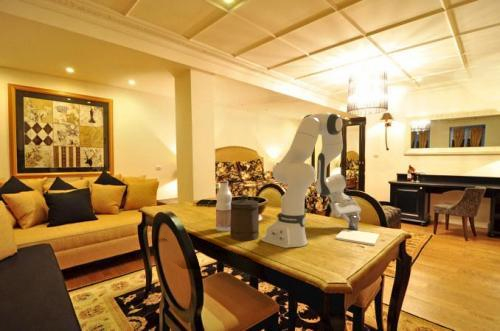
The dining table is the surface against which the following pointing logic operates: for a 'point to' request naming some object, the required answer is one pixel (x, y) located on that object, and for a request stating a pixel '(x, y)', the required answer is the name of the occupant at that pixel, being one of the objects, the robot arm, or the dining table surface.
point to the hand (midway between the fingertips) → (354, 220)
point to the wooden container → (244, 219)
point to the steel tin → (353, 222)
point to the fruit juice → (223, 207)
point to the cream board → (358, 237)
